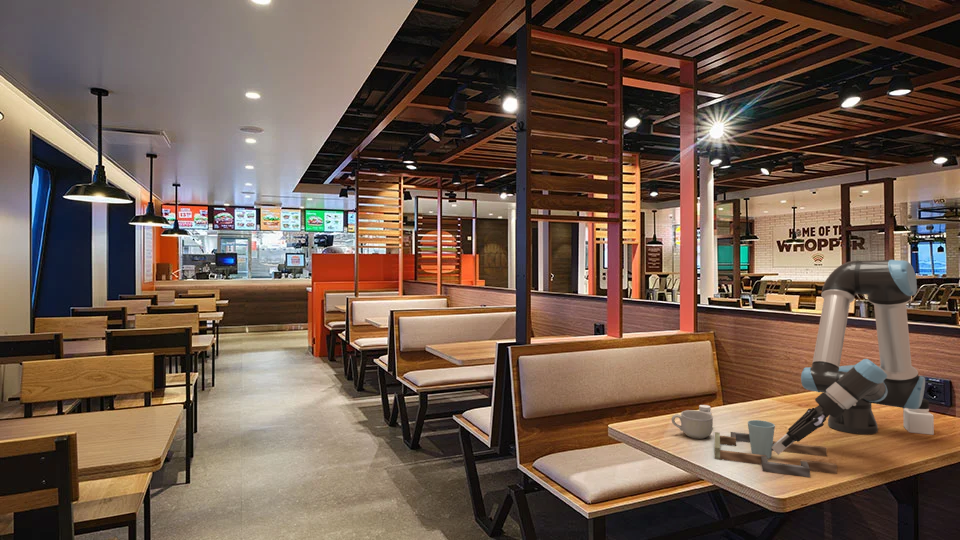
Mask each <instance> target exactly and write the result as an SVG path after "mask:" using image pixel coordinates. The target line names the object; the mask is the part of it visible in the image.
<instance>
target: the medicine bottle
mask: <svg viewBox="0 0 960 540" xmlns="http://www.w3.org/2000/svg"><path fill="white" fill-rule="evenodd" d="M902 409H903V408H902ZM902 411H903V415H902V416H903V417H902V418H903V421H902V422H903V428H904V429H905V430H906V431H907V432H908V433H909V434H910V433H912V434H923V435H931V436H932V435H935V427H934V424H935V423H934V422H935V420H934V414H932V413H931V412H929V411H930V401H929V400H928V399H926V398H925V397H923V400H922V403H921V406H920V407H919V408H918V409H907V408H905V409H903V410H902Z"/></svg>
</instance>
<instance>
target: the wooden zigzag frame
mask: <svg viewBox="0 0 960 540" xmlns="http://www.w3.org/2000/svg"><path fill="white" fill-rule="evenodd" d="M742 441H743V442H744V443H750V436H749V433H747V432H746V433H745V432H744V433H743V432H736V431H734V432H733V431H730V436H729V435H727V436H726V435H721V434H720V432H718V431H716V432H714V459H715V458H717V459H716V460H722V459H724V460H723V461H730V462H737V463H739V462H740V463H746V464H754V465H755V464H756V465H760V466H761V469H762V472H765V473H766V472H767V473H773V474H782V475H790V476H798V477H805V478H811V472H817V473H818V472H819V473H826V474H827V473H828V474H835V475H837V474H838V465H837V463H834V462H825V461H818V460H808V459H800V461H799V462H800V463H799V465H796V464H791V463H788V464H787V463H782V462H781V463H780V462H773V461H768V460H769V459H767V456H766V455H759V454H752V452H751V453H750V452H749V453H748V452H740V451H733V450H723V449H721V445H724V444H727V445H726V446H732V445H735V446H734V447H736V446H737V442H742ZM743 442H742V443H743ZM776 442H777V441H774V440H773V444H774V443H776ZM827 450H828V448H827V447H826V446H821V445H811V444H804V443H803V444H802V443H801V444H800V443H795V442H793V443H792V444H791V445H790V446H788V447H787V448H786V449H785V450H784V451H783V452H785V453H786V452H787V453H794V454H795V453H796V454H805V455H811V456H820V457H821V456H822V457H827V456H828V452H827ZM772 451H774V450H773V449H772Z"/></svg>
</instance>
